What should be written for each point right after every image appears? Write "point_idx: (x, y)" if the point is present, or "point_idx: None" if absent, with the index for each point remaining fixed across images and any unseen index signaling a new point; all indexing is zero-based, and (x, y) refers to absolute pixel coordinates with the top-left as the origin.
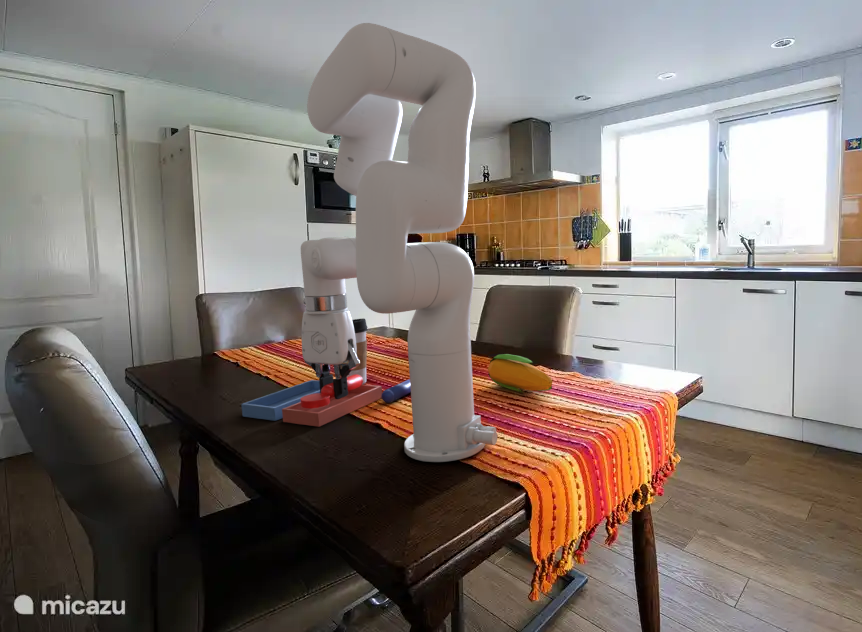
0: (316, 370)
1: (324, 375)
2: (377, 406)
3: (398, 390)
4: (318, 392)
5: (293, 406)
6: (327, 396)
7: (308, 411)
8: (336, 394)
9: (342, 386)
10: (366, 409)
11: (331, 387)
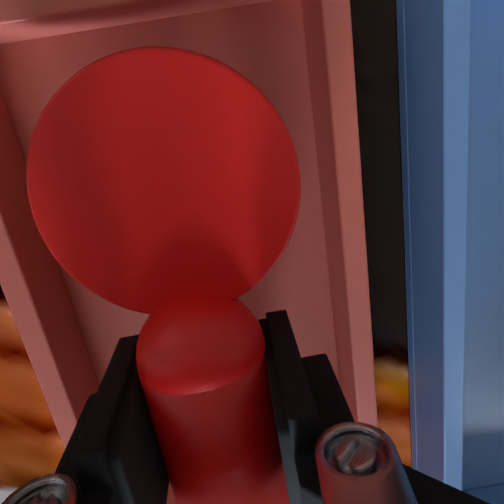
0: (399, 495)
1: (298, 481)
2: (28, 455)
3: None
4: (440, 387)
5: (324, 60)
6: (73, 260)
7: (29, 1)
8: (113, 355)
9: (73, 441)
10: (34, 398)
11: (150, 382)
